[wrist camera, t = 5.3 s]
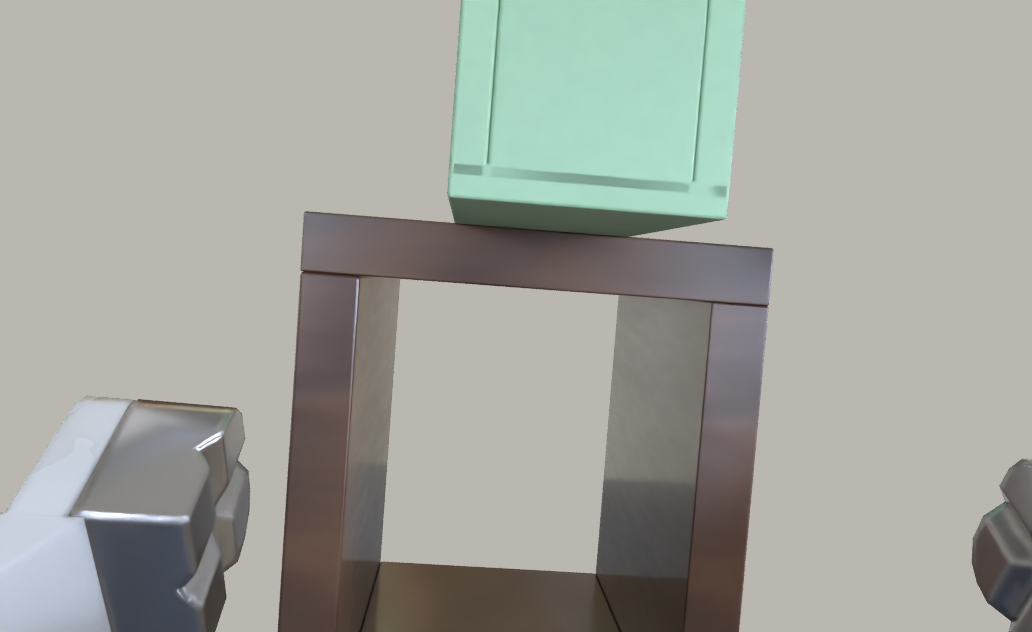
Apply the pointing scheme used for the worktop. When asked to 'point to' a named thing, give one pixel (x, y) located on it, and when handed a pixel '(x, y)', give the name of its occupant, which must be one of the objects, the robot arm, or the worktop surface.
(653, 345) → the shelf stand
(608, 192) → the storage tray
